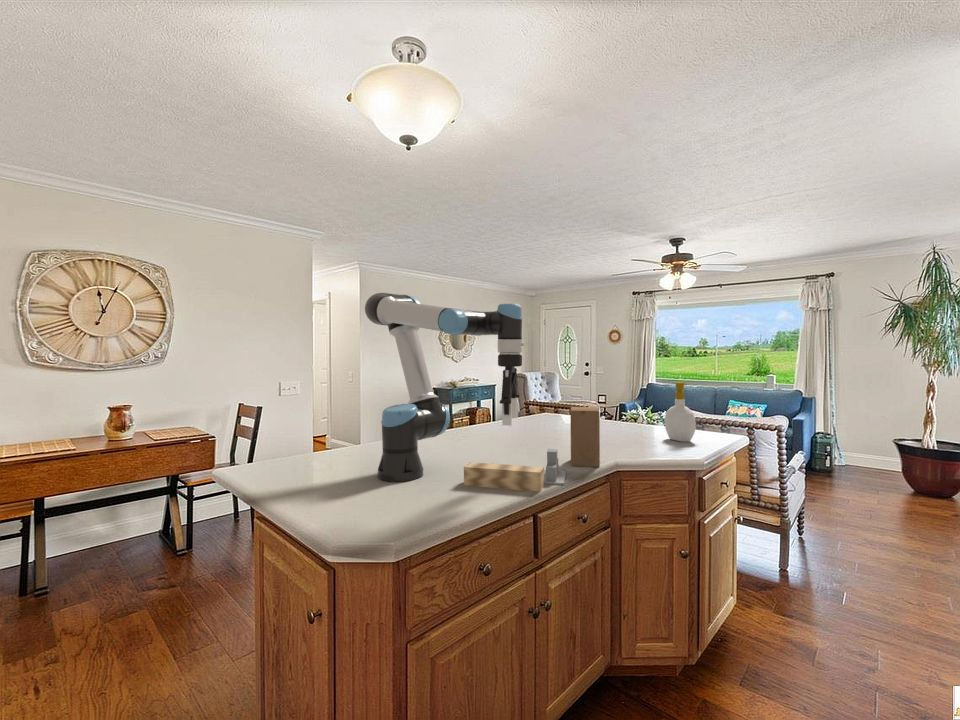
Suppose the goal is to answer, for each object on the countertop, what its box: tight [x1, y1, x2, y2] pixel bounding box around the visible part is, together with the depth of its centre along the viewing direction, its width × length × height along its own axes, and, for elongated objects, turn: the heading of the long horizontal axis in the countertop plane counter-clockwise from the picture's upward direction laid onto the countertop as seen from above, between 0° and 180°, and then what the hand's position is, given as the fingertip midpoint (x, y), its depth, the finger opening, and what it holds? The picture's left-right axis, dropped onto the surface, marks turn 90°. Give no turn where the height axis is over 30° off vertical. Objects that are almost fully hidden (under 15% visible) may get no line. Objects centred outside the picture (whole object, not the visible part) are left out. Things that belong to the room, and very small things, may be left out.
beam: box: [463, 461, 545, 493], centre depth 141 cm, size 24×6×6 cm, turn 72°
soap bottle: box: [664, 381, 697, 443], centre depth 204 cm, size 14×9×26 cm, turn 32°
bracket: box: [544, 448, 567, 486], centre depth 149 cm, size 8×14×9 cm, turn 166°
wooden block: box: [570, 406, 601, 468], centre depth 167 cm, size 10×10×20 cm
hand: (510, 421), depth 143 cm, fingers open, 13 cm apart
